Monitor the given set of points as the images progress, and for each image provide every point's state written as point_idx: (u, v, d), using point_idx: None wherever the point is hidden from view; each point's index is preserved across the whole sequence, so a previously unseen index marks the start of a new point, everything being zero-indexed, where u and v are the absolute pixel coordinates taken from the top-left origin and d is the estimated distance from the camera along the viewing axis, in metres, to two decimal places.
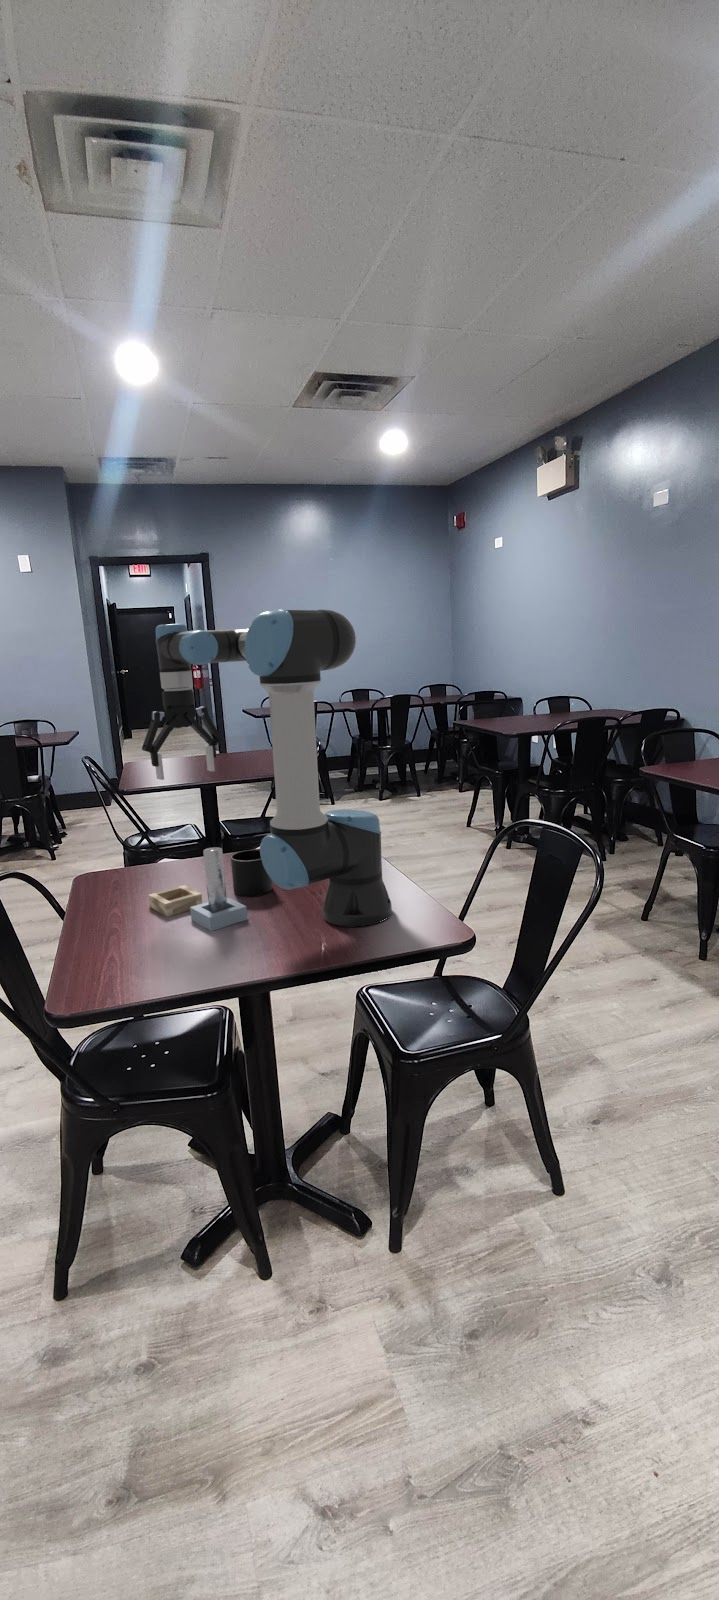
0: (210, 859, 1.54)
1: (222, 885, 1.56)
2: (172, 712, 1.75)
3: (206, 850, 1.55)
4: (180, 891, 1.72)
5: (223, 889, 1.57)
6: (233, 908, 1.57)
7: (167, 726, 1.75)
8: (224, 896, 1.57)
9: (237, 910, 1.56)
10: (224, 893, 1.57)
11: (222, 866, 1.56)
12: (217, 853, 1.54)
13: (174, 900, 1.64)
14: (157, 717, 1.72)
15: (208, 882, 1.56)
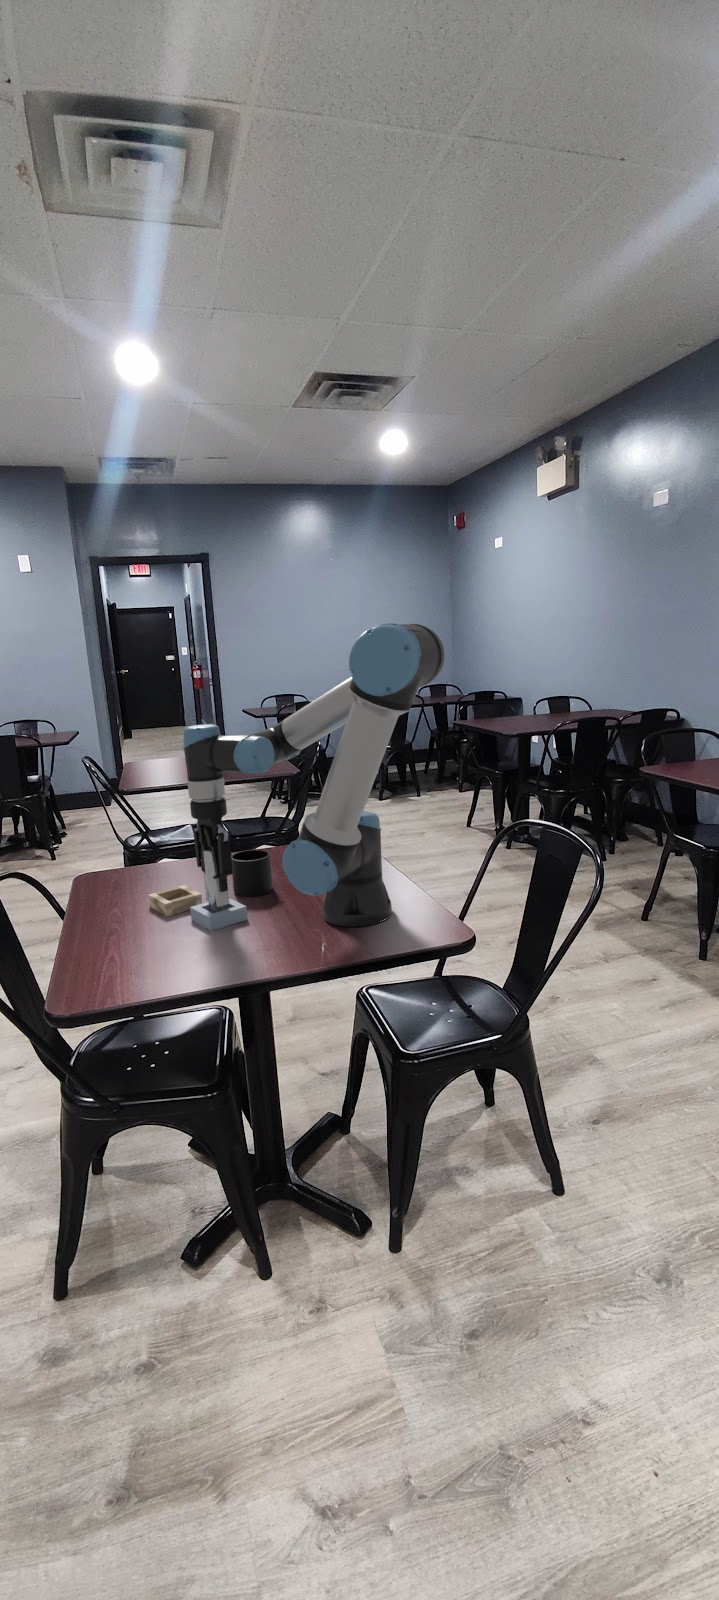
0: (210, 859, 1.54)
1: None
2: (199, 820, 1.55)
3: (206, 850, 1.55)
4: (180, 891, 1.72)
5: None
6: (233, 908, 1.57)
7: None
8: None
9: (237, 910, 1.56)
10: None
11: None
12: None
13: (174, 900, 1.64)
14: (193, 829, 1.58)
15: (208, 882, 1.56)
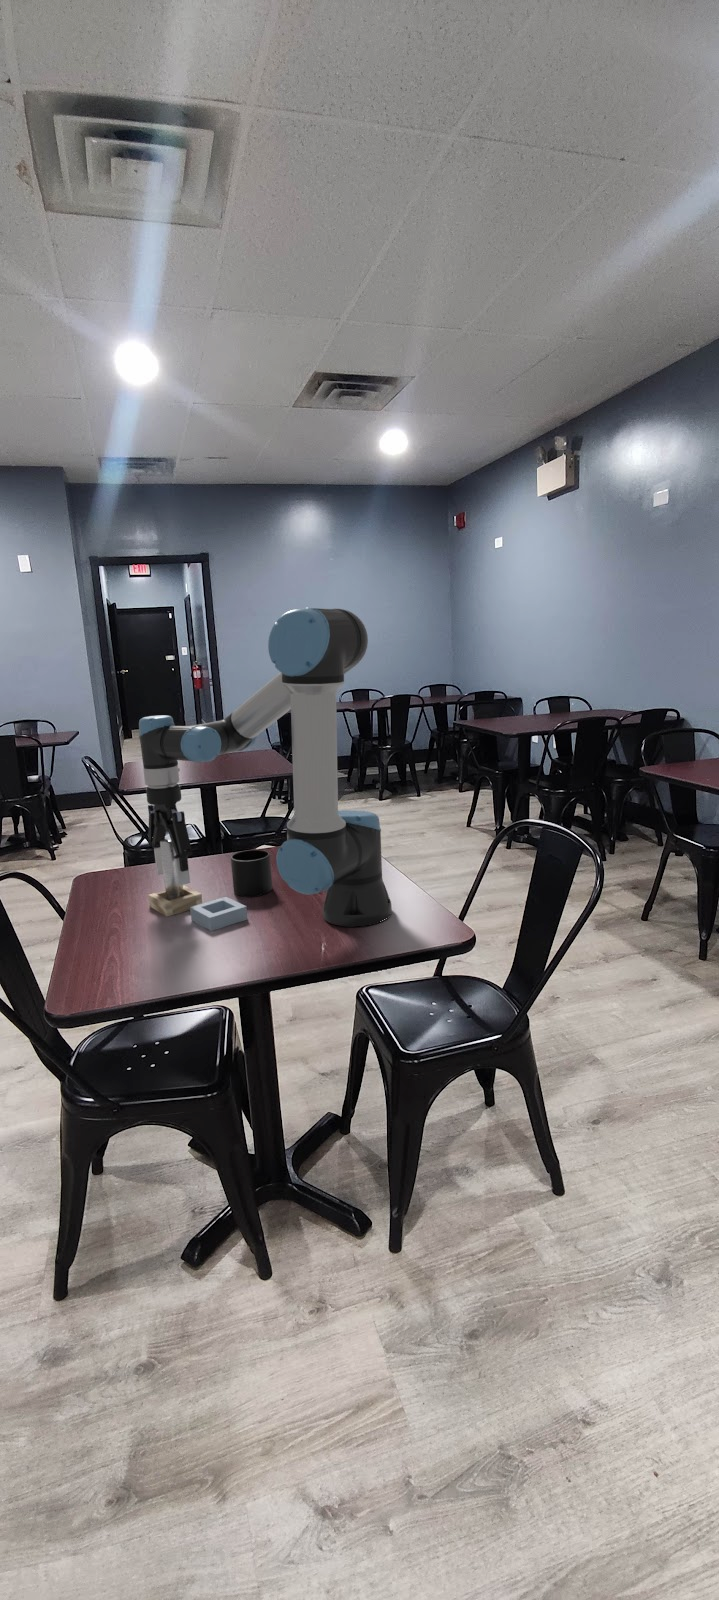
0: (166, 849, 1.63)
1: None
2: (156, 806, 1.65)
3: (163, 840, 1.65)
4: None
5: None
6: (233, 908, 1.57)
7: None
8: None
9: (237, 910, 1.56)
10: None
11: None
12: None
13: (174, 900, 1.64)
14: (149, 810, 1.68)
15: (164, 871, 1.65)
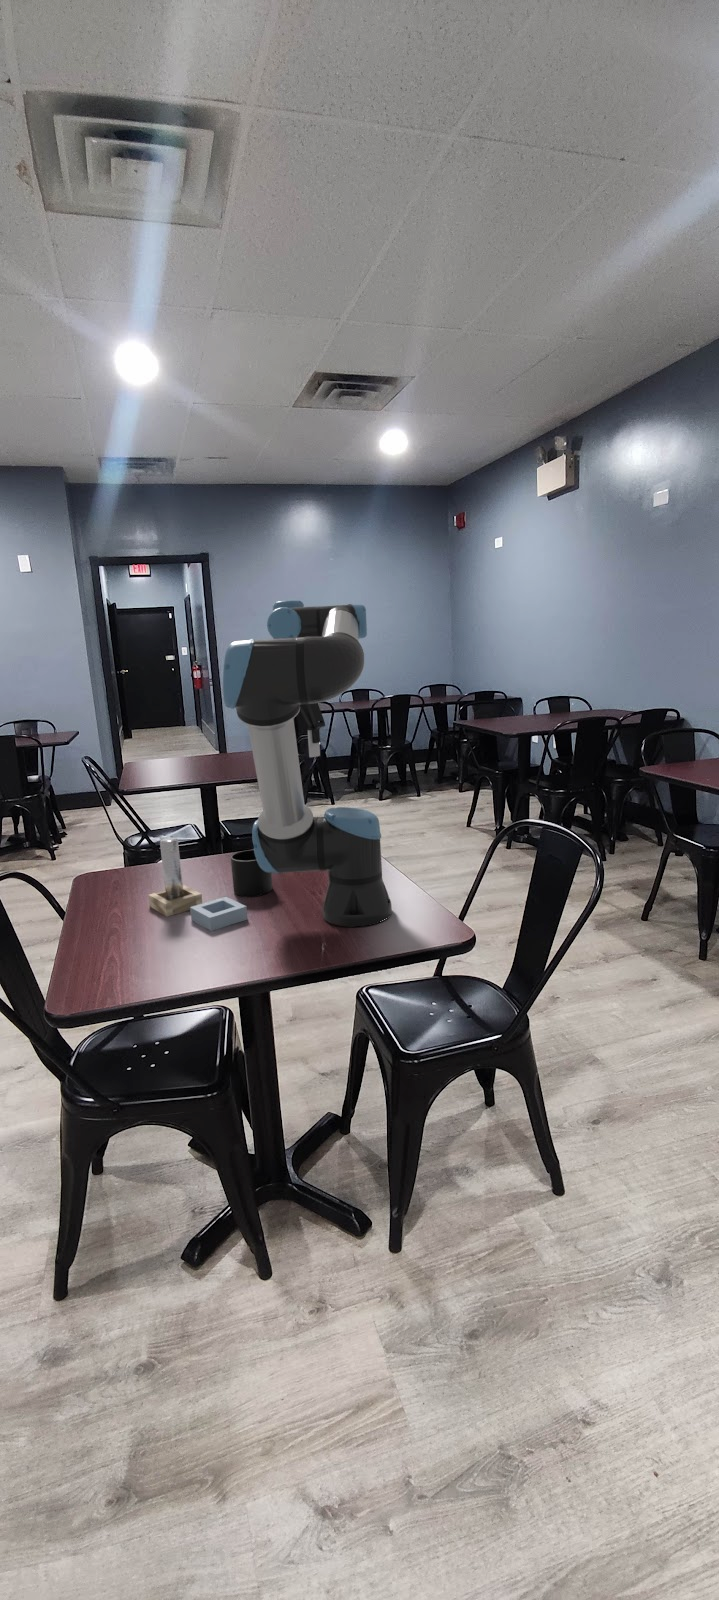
0: (166, 849, 1.63)
1: (178, 873, 1.66)
2: None
3: (162, 840, 1.65)
4: None
5: (179, 877, 1.66)
6: (233, 908, 1.57)
7: None
8: (180, 884, 1.66)
9: (237, 910, 1.56)
10: (180, 881, 1.67)
11: (178, 856, 1.65)
12: (172, 843, 1.64)
13: (174, 900, 1.64)
14: None
15: (164, 871, 1.65)
